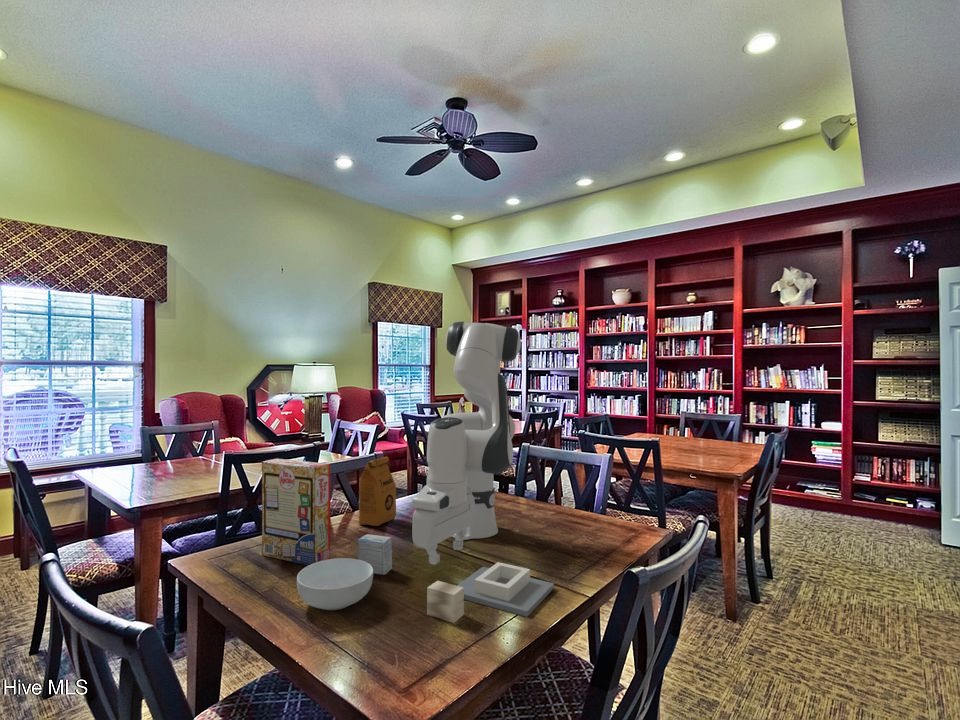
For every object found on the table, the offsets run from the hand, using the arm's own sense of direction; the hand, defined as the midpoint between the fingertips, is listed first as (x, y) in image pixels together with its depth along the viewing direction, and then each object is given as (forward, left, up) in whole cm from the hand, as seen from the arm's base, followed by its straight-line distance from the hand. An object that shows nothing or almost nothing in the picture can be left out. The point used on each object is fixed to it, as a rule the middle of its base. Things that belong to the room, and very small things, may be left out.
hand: (446, 555), depth 110 cm
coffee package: (-55, +41, -13) cm, 70 cm away
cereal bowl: (-25, -8, -13) cm, 30 cm away
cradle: (+6, +16, -13) cm, 21 cm away
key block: (0, 0, -13) cm, 13 cm away
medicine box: (-29, +10, -13) cm, 34 cm away
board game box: (-54, +5, -13) cm, 56 cm away
